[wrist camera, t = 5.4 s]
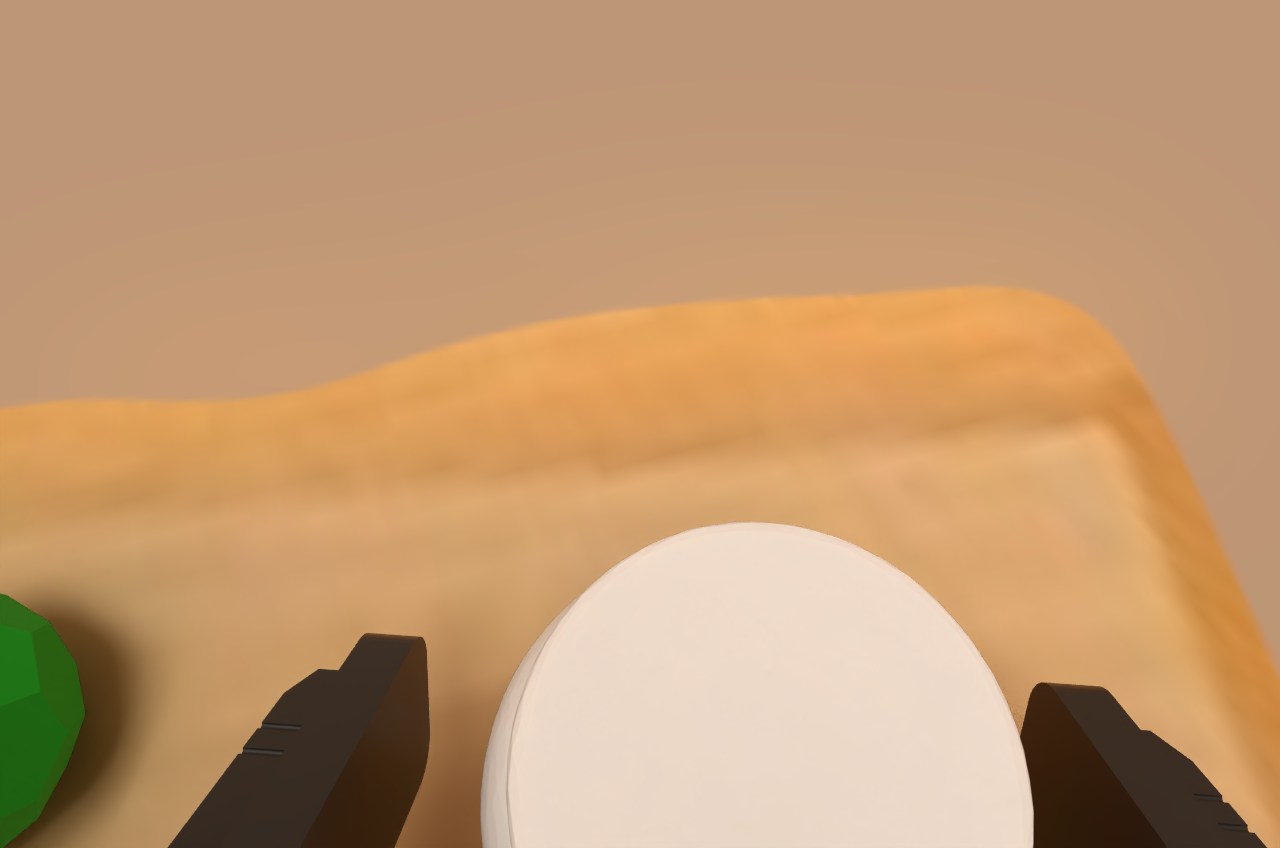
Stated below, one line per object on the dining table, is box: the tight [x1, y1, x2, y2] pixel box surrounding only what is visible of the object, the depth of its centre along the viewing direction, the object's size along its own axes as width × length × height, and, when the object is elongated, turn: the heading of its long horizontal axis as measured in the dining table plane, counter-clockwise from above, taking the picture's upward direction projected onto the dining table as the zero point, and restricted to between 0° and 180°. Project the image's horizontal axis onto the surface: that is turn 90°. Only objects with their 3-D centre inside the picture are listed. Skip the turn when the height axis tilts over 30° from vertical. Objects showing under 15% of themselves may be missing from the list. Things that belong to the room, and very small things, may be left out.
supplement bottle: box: [480, 522, 1034, 848], centre depth 10 cm, size 5×5×10 cm
